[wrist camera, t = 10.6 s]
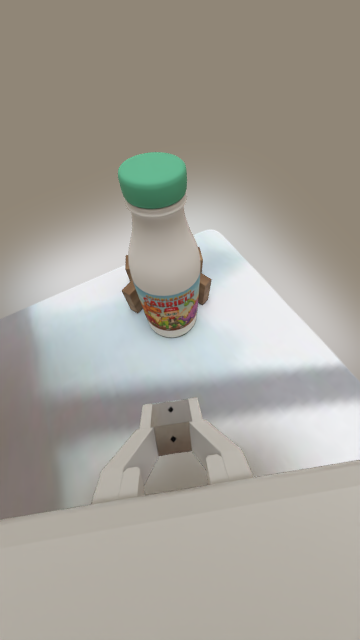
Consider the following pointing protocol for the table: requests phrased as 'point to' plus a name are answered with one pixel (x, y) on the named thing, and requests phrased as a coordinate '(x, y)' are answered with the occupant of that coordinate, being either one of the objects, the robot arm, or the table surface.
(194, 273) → the milk bottle
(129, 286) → the cradle
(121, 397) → the table surface
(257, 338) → the table surface
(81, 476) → the table surface
